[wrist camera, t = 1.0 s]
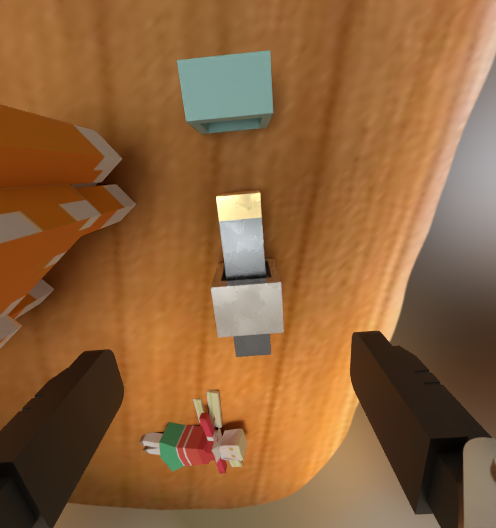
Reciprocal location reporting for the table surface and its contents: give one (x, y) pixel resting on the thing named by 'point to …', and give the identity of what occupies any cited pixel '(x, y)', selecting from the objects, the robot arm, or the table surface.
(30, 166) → the toy
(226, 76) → the socket
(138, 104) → the table surface
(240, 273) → the bar
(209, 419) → the toy
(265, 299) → the sleeve
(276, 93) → the table surface
